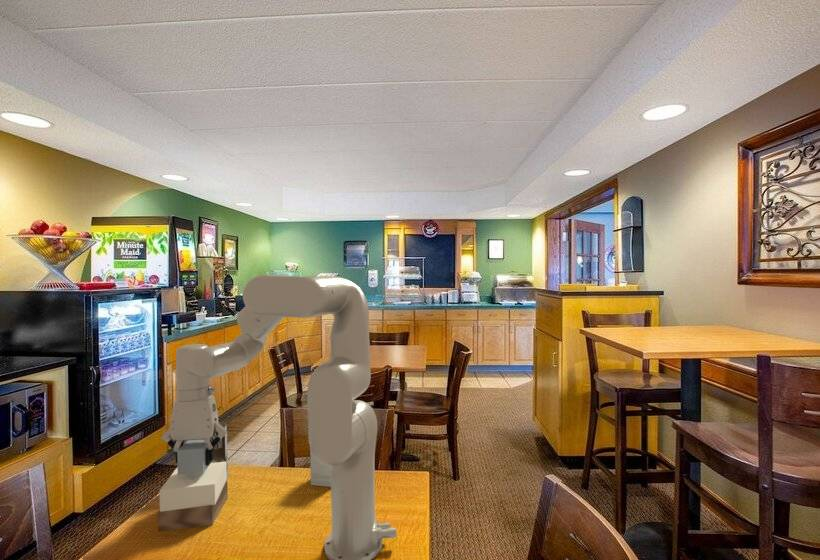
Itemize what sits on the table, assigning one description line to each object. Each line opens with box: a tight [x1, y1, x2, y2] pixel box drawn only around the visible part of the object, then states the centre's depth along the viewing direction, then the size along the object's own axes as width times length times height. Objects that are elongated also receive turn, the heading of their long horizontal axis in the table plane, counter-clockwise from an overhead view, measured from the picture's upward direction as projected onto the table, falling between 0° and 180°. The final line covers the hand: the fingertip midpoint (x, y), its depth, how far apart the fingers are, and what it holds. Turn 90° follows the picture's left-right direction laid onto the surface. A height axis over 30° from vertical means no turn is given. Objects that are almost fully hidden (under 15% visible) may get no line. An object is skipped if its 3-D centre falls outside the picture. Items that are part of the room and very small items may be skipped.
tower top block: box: [159, 462, 228, 512], centre depth 100 cm, size 12×12×5 cm
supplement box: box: [309, 447, 331, 488], centre depth 115 cm, size 7×7×13 cm
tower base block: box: [157, 480, 229, 532], centre depth 100 cm, size 12×12×5 cm
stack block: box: [176, 439, 212, 475], centre depth 100 cm, size 6×6×6 cm
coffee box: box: [200, 421, 229, 482], centre depth 116 cm, size 9×6×16 cm
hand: (195, 463), depth 100 cm, fingers closed on stack block, 6 cm apart
